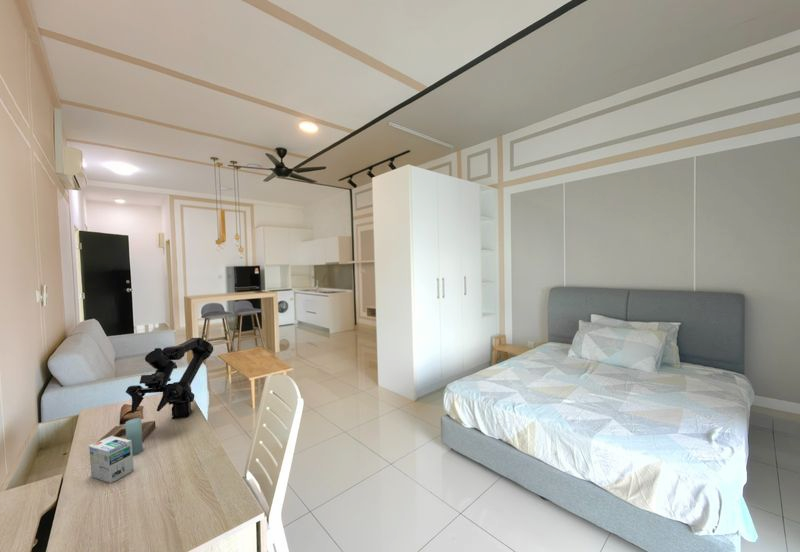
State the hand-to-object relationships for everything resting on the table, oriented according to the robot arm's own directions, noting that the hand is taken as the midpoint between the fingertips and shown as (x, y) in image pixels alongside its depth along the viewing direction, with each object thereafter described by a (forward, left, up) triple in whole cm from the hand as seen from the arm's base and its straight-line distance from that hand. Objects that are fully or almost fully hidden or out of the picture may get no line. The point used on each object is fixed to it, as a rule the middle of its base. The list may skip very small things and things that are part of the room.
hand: (145, 411), depth 120 cm
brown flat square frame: (+9, -6, -12) cm, 17 cm away
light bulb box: (+2, +18, -13) cm, 22 cm away
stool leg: (+1, +6, -13) cm, 14 cm away
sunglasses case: (+18, -31, -13) cm, 38 cm away
